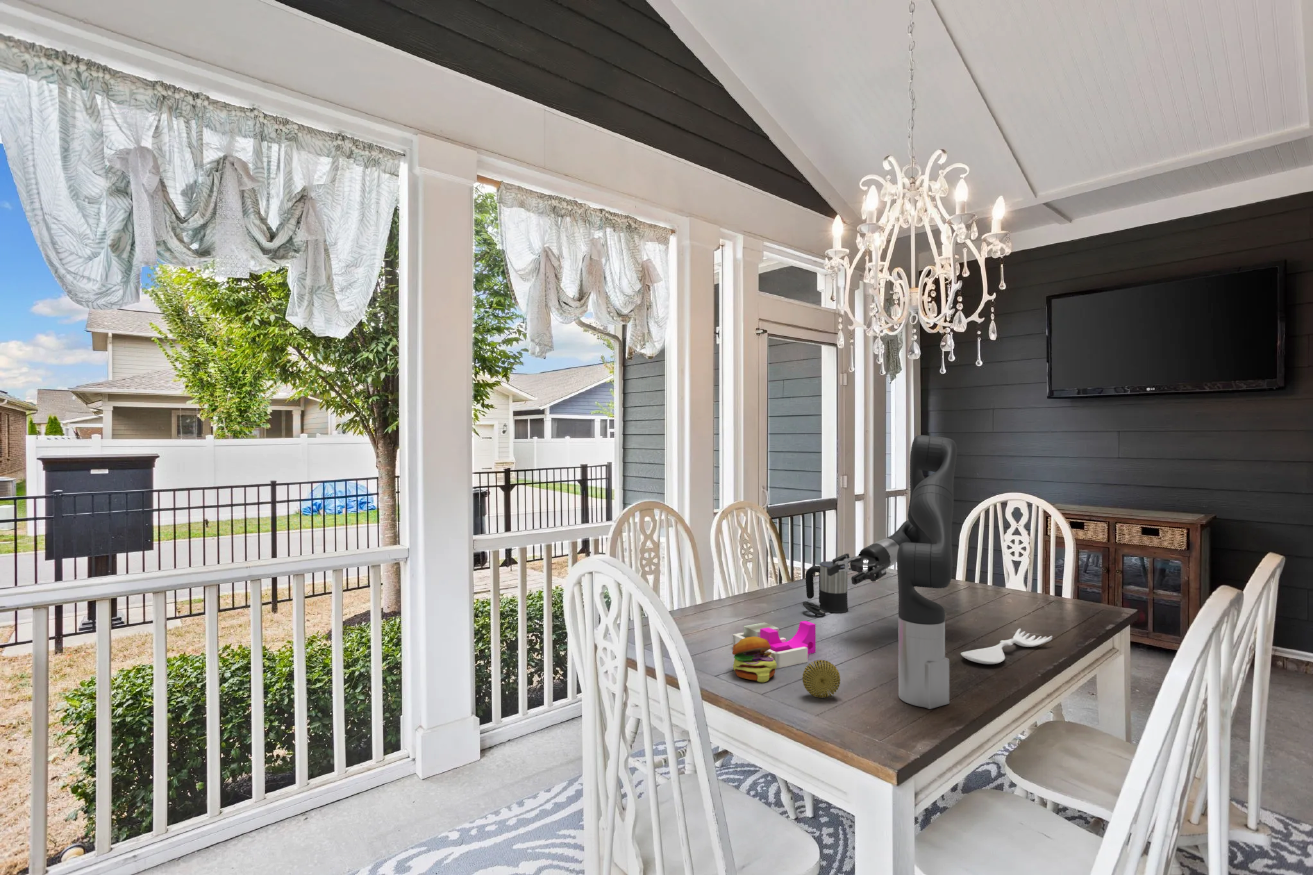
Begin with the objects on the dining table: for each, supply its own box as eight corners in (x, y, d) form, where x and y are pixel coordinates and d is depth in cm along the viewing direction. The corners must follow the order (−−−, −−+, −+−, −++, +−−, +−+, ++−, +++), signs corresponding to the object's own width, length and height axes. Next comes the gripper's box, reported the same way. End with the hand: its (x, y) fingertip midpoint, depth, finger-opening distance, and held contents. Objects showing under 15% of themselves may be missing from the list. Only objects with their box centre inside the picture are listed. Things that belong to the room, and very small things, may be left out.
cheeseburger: (744, 685, 147) (739, 639, 149) (726, 680, 157) (722, 637, 159) (785, 680, 150) (779, 635, 152) (765, 675, 160) (760, 633, 162)
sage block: (779, 651, 171) (779, 628, 171) (757, 655, 168) (757, 632, 168) (764, 644, 177) (764, 622, 177) (743, 648, 173) (743, 626, 173)
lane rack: (807, 661, 163) (807, 647, 163) (775, 668, 158) (775, 654, 158) (763, 641, 179) (763, 628, 178) (732, 647, 174) (732, 634, 174)
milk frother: (848, 606, 214) (848, 561, 214) (849, 620, 199) (849, 571, 199) (804, 604, 218) (804, 559, 218) (801, 616, 203) (801, 569, 203)
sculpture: (837, 693, 143) (837, 657, 143) (842, 701, 139) (842, 663, 139) (800, 693, 143) (800, 656, 143) (804, 700, 139) (804, 663, 139)
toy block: (775, 666, 161) (775, 635, 161) (760, 658, 166) (760, 628, 166) (822, 655, 168) (822, 626, 168) (805, 648, 173) (805, 620, 173)
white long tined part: (1053, 647, 174) (1053, 634, 174) (988, 672, 156) (988, 658, 156) (1019, 638, 181) (1019, 626, 181) (953, 662, 163) (953, 648, 163)
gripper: (858, 537, 188) (818, 557, 180) (900, 549, 176) (859, 570, 168) (861, 561, 189) (822, 582, 181) (903, 574, 177) (863, 597, 169)
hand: (840, 576), depth 174 cm, fingers open, 8 cm apart
